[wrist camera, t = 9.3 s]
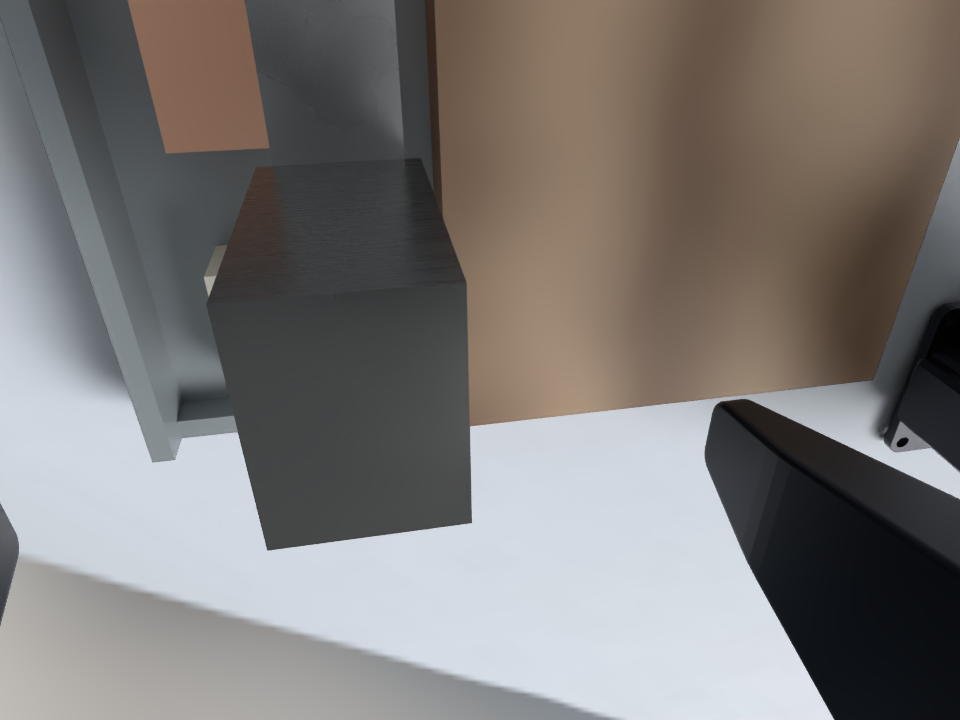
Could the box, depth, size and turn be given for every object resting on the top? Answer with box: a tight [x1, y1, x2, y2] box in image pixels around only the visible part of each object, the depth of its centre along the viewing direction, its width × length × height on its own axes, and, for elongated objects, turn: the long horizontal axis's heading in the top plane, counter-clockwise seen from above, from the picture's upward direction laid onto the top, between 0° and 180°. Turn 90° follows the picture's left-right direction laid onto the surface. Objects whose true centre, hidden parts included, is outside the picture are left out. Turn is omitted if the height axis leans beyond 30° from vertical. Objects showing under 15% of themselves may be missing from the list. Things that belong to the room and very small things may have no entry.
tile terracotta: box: [128, 0, 270, 154], centre depth 15 cm, size 4×4×2 cm
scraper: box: [206, 0, 472, 551], centre depth 13 cm, size 3×13×8 cm, turn 0°
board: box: [425, 0, 960, 426], centre depth 19 cm, size 14×14×2 cm
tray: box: [0, 0, 434, 462], centre depth 17 cm, size 8×14×2 cm, turn 0°
